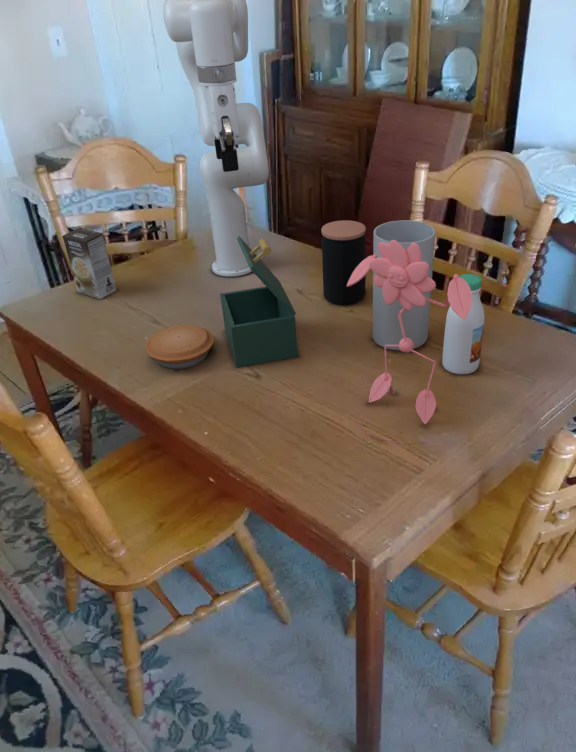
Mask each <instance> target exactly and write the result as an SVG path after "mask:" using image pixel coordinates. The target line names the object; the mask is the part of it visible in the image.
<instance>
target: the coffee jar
mask: <svg viewBox="0 0 576 752" xmlns="http://www.w3.org/2000/svg"><path fill="white" fill-rule="evenodd" d="M320 231H321V232H320V233H321V235H322V237H321V260H322V261H321V264H322V289H323V291H322V292H323V293H322V294H323V297H324V298H325V299H326V301H327V302H328V303H330V304H332V305H335V306H343V307H344V306H352V305H356V304H358V303H360V302H361V301H362V300H363V299H364V297H365V295H366V288H367V287H366V285H367V284H366V281H367V279H366V276H367V274H366V275H365V276H364V277H363V278H362V279H361V280H360V281H358V282H357V283H355V284H353V285H351V286H349V287H347V284H348V281H349V279H350V277H351V275H352V273H353V271H354V270H355V269H356V267H357V266H358V265H359V264H360V263H361V262H362V261H363V260H364V259H366V258H367V238H366V235H365V234H366V231H367V228H366V225H365V224H363V223H362V222H359V221H356V220H346V219H345V220H343V219H342V220H335V221H331V222H328V223H325V224H324V225H322V227H321V229H320Z"/></svg>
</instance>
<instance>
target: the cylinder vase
mask: <svg viewBox="0 0 576 752" xmlns="http://www.w3.org/2000/svg"><path fill="white" fill-rule="evenodd" d="M391 240H396V241H397V242H399V243H400V244H401V245H402V246H403V248H404V249H405V251H406V249H407V248H408V247H409V246H410V245H411V244H412V243H416V244H418V246H419V247H420V250H421V255H422V262H427V263H428V265H429V271H428V275H427V276H428V277H430V278H431V279H432V280H433V269H434V268H433V267H434V254H435V243H436V242H435V240H436V229H435V228H434V227H433V226H432V225H430V224H429V223H427V222H424V221H423V222H422V221H418V220H407V219H403V220H391V221H387V222H384V223H381V224H379V225H377V226H376V227H375V228H374V229H373V241H372V242H373V243H372V244H373V247H372V248H373V250H372V252H373V254H377V256H378V257H377V258H380V257H381V258H382V256H381V254H380V252H379V250H378V244H379V243H380V242H385V243H389V244H390V241H391ZM373 254H372V255H373ZM375 274H376V273H375V272H374V271H373V270H372V334H371V335H372V339H373V341H374V342H375V344H377V345H378V346H380V347H381V348H384V346H385V345H399V342H400V340H402V339H403V338H404V337H403V333H402V329H401V325H400V322H399V318H398V314H399V311H401V310H402V309H403V308H404V307H403V306H402V305H401V303H400V302H399V301H398V299H397V300H396V301H395V302H394V304H392V305H388V304H386V303H385V301H384V298H383V294H382V287H377V286H376V285H375V284H374V276H375ZM422 294H423V296H424V297H426V298H428V299H431V297H432V291H431V292H427V293H422ZM431 300H432V299H431ZM430 311H431V303H430V302H428V301H426V304H425V306H423V307H419V306H415V305H414V306H413V308H412V310H410V311H408V310H405V311H404V312H403V313H402V314H401V317H402V322H403V327H404V332H405V337H406V338H410V339H411V340H412V341H413V343H414V347H413V349H412V350H414V349H417V348H419V347H422V346H423V345H424V344H425V343H426V341H427V340H428V338H429V325H430ZM384 349H385V348H384ZM386 350H390V351H399V352H402V351H401V350H400V349H399V347H388V346H386Z"/></svg>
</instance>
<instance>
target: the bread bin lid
mask: <svg viewBox="0 0 576 752" xmlns="http://www.w3.org/2000/svg"><path fill="white" fill-rule="evenodd" d="M237 240H238V243H239V245H240V247H241V249H242V252H243V254H244V256H245V258H246V261H247V263H248V265H249V267H250V269H251V270H252V273H253V274H254V275H255V276H256V277H257V278H258V279H259V280H260V282H261V283H262V284H263V285H264V287H267V288H268V289H269V290H270V291H271V292H272V293H273V294H274V295H275V296H276V298H277V299H278V300H279V301H280V302H281V303H282V304H283V305H284V306H285V307H286V308H287V310H288V311H289V312H290V313H291V314H292V315H293V316H296V315H297V312H296V311H295V308H294V307H293V305H292V302H291V300H290V299H289V296H288V295H287V293H286V291H285V289H284V287H283V285H282V283H281V281H280V280H279V279H278V278H277V277H276V275H275V274H274V273H273V272H272V271H271V270H270V269H269V268H268V266H267V265H266V264H265V263H264V262H263V261H262V260H261V259H262V258H263V257H265V256H270V255H271V254H272V251H273V250H272V248H271V246H270V244H269V242H268V240H267V239H266V238H260V239H259V240H258V244H257V245H256V246H255V247H254V248H251V247H250V245H249V246H248V245H247V244H246V243H245V242H244V241H243V240H242V239H241V237H240V236H239V237H238V238H237ZM259 250H261V252H259V254H258V255H257V254H256V253H257V252H258V251H259Z"/></svg>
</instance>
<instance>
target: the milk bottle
mask: <svg viewBox="0 0 576 752" xmlns="http://www.w3.org/2000/svg"><path fill="white" fill-rule="evenodd" d="M459 277H460V278H463V279H464V280H465V281H466V282H467V284H468V285H469V287H470V289H471V293H472V306H471V309H470V311H469V314H468V316H467V318H466V319H465V320H464V319H462V318H461V317H460V316H459V315H457V314H456V313H455V312H454V311H453V310H452V308H451V306H449V308H448V309H447V314H446V318H445V326H444V336H443V346H442V358H441V359H442V360H441V364H442V367H443V368H444V369H445V370H446V371H447V372H449V373H452V374H455V375H456V374H457V375H468V374H471V373H474V372H475V371H477V369H479V366H480V362H481V353H482V347H483V346H482V345H483V338H484V330H485V321H486V320H485V319H486V318H485V317H486V316H485V315H486V314H485V309H484V306H483V303H482V301H481V297H480V291H481V290H482V280H483V279H482V277H481V276H479V275H477V274H473V273H465V274H464V273H463V274H461V275H459Z"/></svg>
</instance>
